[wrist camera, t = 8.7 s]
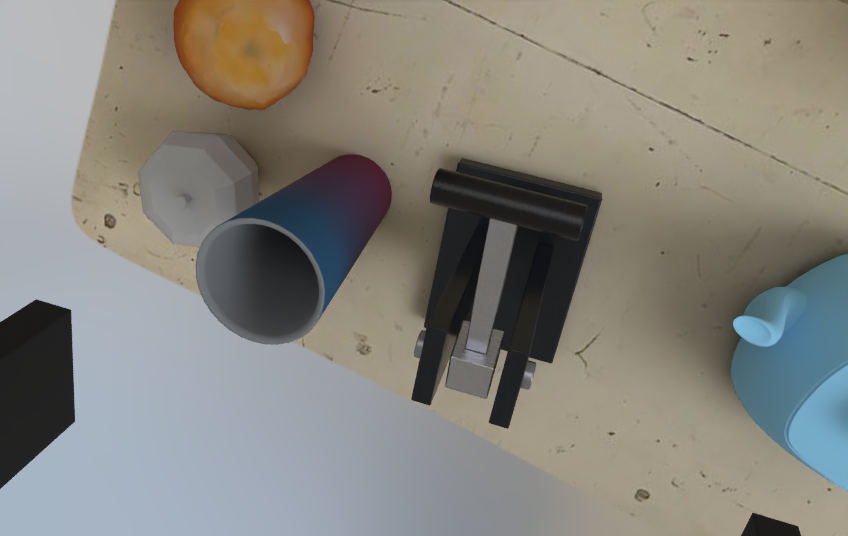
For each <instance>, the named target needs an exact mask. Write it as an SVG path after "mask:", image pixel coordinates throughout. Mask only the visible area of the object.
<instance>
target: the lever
mask: <svg viewBox="0 0 848 536" xmlns="http://www.w3.org/2000/svg"><path fill="white" fill-rule="evenodd" d="M430 202H431V203H432V204H436V205H440V206H444V207H448V208H452V209H456V210H459V211H463V212H467V213H471V214H475V215H479V216H482V217H486V218H490V220H489V225H488V230H487V236H486V241H485V246H484V251H483V257H482V262H481V267H480V272H479V277H478V283H477V288H476V293H475V298H474V303H473V309H472V314H471V319H470V322H469V321H465V320H463V321H462V323H461V326H460V329H459V332H458V335H457V338H456V341H455V344H454V347H453V350H452V353H451V356H450V361H449V367H448V373H447V379H446V385H445V386H446V387H447V388H450V389H454V390H457V391H461V392H464V393H467V394H471V395H474V396H478V397H481V398H484V399H487V397H488V393H489V390H490V386H491V383H492V379H493V375H494V372H495V368H496V365H497V361H498V357H499V353H500V349H501V345H502V342H503V338H504V334H505V332H504V331H501V330H498V329H494V325H495V321H496V316H497V312H498V308H499V304H500V299H501V295H502V291H503V287H504V282H505V278H506V274H507V270H508V265H509V261H510V257H511V252H512V248H513V244H514V240H515V235H516V231H517V227H518V226H521V227H525V228H529V229H533V230H536V231H540V232H544V233H548V234H552V235H556V236H559V237H563V238H567V239H571V240H575V241H578V240H579V237H580V235H581V231H582V228H583V225H584V221H585V217H586V213H587V208H588V207H587V205H585V204H581V203H577V202H573V201H569V200H565V199H561V198H557V197H553V196H549V195H545V194H541V193H537V192H533V191H529V190H525V189H521V188H517V187H514V186H510V185H506V184H502V183H498V182H494V181H490V180H486V179H482V178H478V177H474V176H470V175H466V174H462V173H458V172H454V171H450V170H446V169H442V168H439V169H438V171H437V172H436V175H435V178H434V181H433V184H432V188H431V194H430Z"/></svg>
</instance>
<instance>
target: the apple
mask: <svg viewBox="0 0 848 536" xmlns="http://www.w3.org/2000/svg"><path fill="white" fill-rule="evenodd" d="M138 174H139V182H140V191H141V199H142V207H143V213H144V214H145V215H146V216H147V217H148V218H149V219H150V220H151V221H152V222H153V223H154V224H155V225H156V226H157V227H158V228H159V229H160V230H161V231H162V232H163V234H164V235H165V236H166V237H167V238H168V239H169V240H170V241H171V242H172V243H173V244H180V245H187V246H195V247H200V246H201V244H202V242H203V240H204V239H205V238H206V236H207V235H208V234H209V233H210V232H211V231H212V230H213V229H214V228H216V227H217V226H218V225H220V224H222V223H223V222H225V221H227V220H229V219H230V218H232V217H234V216H236V215H237V214H239V213H241V212H243V211H244V210H246V209H248V208H250V207H251V206H253V205H255V204H257V203H258V202H259V186H258V165H257V164H256V162H255V161H254V160H253V159H252V158H251V157H250V156H249V154H248V153H247V152H246V151H245V150H244V149H243V148H242V146H241V145H240V144H239V143H238V142H237V141H236V140H235V139H234V138H233V137H232V136H231V135H223V134H211V133H199V132H177V131H173V132H172V133H171V135H170V136H169V137H168V138H167V139H166V140H165V141H164V142H163V143H162V145H161V146H160V147H159V148H158V149H157V150H156V151H155V152H154V153H153V155H152V156H151V157H150V158H149V159H148V160H147V161H146V162H145V164H144V165H143V166H142V167H141V169H140V170H139V171H138Z"/></svg>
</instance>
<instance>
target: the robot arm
mask: <svg viewBox="0 0 848 536" xmlns="http://www.w3.org/2000/svg"><path fill="white" fill-rule="evenodd" d="M74 422H75V409H74V382H73V353H72V325H71V310H69V309H66V308H62V307H60V306H56V305H53V304H50V303H46V302H43V301H39V300H35V301H33V302H32V303H30V304H28V305H27V306H25V307H24V308H22V309H21V310H19V311H17V312H16V313H14V314H13V315H11V316H9V317H8V318H6V319H5V320H3V321H2V322H0V489H1V488H2V487H3V486H4V485H5V484H6V483H7V482H8V481H9V480H11V479H12V478H13V477H14V476H15V475H16V474H17V473H18V472H19V471H20V470H22V469H23V468H24V467H25V466H26V465H27V464H28V463H29V462H30V461H32V460H33V459H34V458H35V457H36V456H37V455H38V454H39V453H40V452H41V451H43V450H44V449H45V448H46V447H47V446H48V445H49V444H50V443H51V442H52V441H54V440H55V439H56V438H57V437H58V436H59V435H60V434H61V433H63V432H64V431H65V430H66V429H67V428H68V427H69V426H70V425H71V424H72V423H74ZM741 536H801V534H800V531H799V528H798V526H795V525H792V524H788V523H785V522H782V521H778V520H775V519H772V518H768V517H765V516H762V515H758V514H755V513H752V515H751V517H750V519H749V521H748V523H747V525H746V527H745V529H744V531H743V533H742V535H741Z"/></svg>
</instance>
